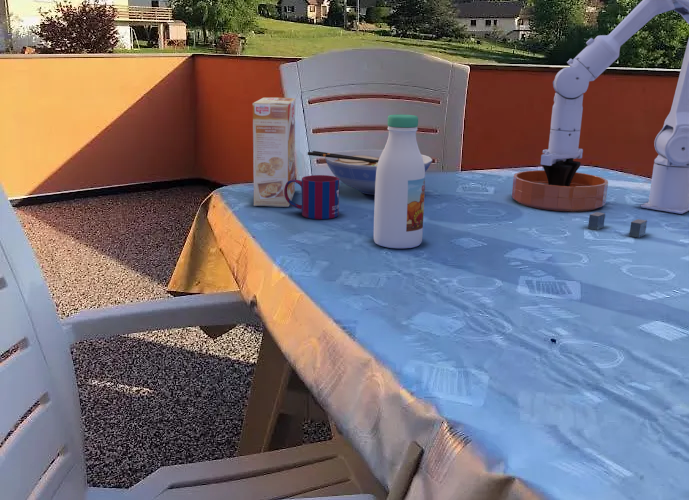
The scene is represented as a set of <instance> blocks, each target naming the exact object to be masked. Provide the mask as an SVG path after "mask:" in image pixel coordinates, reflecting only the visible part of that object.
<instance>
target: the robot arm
mask: <svg viewBox="0 0 689 500" xmlns="http://www.w3.org/2000/svg"><path fill="white" fill-rule="evenodd" d="M669 11H674V12H676V13H677V14H679V15H680V16H681V17H682V18H683V20H684V21H685V22H686V23H687V25H689V0H641V1H640V2H639V3H638V4H637V5H636V6H635V7H634V8H633V9H632V10H631V11H630V13H629V14H627V15H626V16H625V17H624V18H623V19H622V20H621V21H620V23H618V25H616V27H615V28H614V29H612V30H611V32H610V33H608V34H607V35H606V34H602V35H601V34H599V35H597V36H596V37H595V38H592V37H591V38H589V39H588V40H587V41H586V42H585V44H586V46H585V47H584V48H583V49H582V50H581V51H580V52H579V53H577V55H576V56H575V57H574V58H573V59H572V58H569V60H568V61H566V63H567V65H569V66H567V67H563V68H562V69H560V70H559V71H558V72H557V73H556V75H555V76H554V79H553V80H552V87H553V89H554V91H555V93H554V96H553V105H552V109H551V119H550V130H549V139H548V148H547V149H543V150H542V154H541V155H540V166H542V168H543V170H545V173H546V176H547V179H548V185H557V186H570V184H571V181H572V179H573V177H574V175H575V173H576V172H577V171H578V170H579V168H580V167H581V163H582V162H581V161H576V160H575V159H577V160H578V159H580V160H581V159H583V153H584V149H583V148H579V145H580V136H581V128H582V119H583V111H584V110H583V109H584V107H583V102H584V101H583V100H584V94H585V93H586V92H587V90H588V89H589V85H590V82H594V81H595V80H596V79H598V78H599V77H600V75H602V74H603V73H604V72H605V71H606V70H607V69H608V68H610V66H611V65H612V64H613V63H614V62H615V61H616V60H617V59H618V58H620V50H621V47H622V46H623V45H624V44H625V43H626V42H627V41H628V40H630V39H631V38H632V36H634V35H635V34H636V33H637V32H639V30H640V29H642V28H643V27H644V26H645V25H646V24H647V23H648V22H650V21H651V20H652V19H653V18H654V17H655V16H658V15H660V14H663V13H667V12H669ZM670 107H671V108H670V111H669V113H668V114H667V116H666V117H665V119H664V122H663V126H662V128H661V129H660V131H659V132H658V133H657V134H656V136H655V139H654V141H653V143H654V146H653V147H654V149H655V152H656V153H657V154H658V155H657V156H656V157H655V158H654V160H653V167H652V175H651V182H650V188H649V195H648V202H647V201H646V202H645V203H643V204H640V208H643V209H648V210H656V211H661V212H667V213H674V214H680V215H681V214H682V215H683V214H685V213H687V212H689V38H688V39H687V43H686V47H685V51H684V55H683V60H682V62H681V68H680V71H679V76H678V79H677V84H676V88H675V92H674V95H673V100H672V104H671V106H670Z"/></svg>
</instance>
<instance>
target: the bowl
mask: <svg viewBox="0 0 689 500" xmlns="http://www.w3.org/2000/svg"><path fill="white" fill-rule="evenodd" d="M538 182H541V183H548V179H547V176H546V173H545V170H544V169H539V170H537V169H536V170H525V171H523V170H522V171H518V172H515V173H514V174H513V178H512V190H511V198H512V199H513V200H514V201H516V202H517V203H519V204H521V205H524V206H526V207H531V208H535V209H541V210H545V211H547V210H548V211H555V212H588V211H594V210H597V209H599V208H602V207H604V206H605V205H606V203H607V194H608V186H609V181H608V179H606V178H604V177H601V176H598V175H594V174H591V173H590V174H589V173H584V172H577V171H576V173H575V175H574V177H573V179H572V181H571V184H570V186H557V185H547V184H540V183H538Z"/></svg>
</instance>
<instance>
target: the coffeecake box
mask: <svg viewBox="0 0 689 500" xmlns="http://www.w3.org/2000/svg"><path fill="white" fill-rule="evenodd" d="M252 143H253V144H252V147H253V148H252V149H253V157H252V159H253V160H252V161H253V162H252V163H253V167H252V168H253V170H252V171H253V206H254V207H274V208H275V207H278V208H283V207H284V208H289V207H290V206H291V205H290V204H289V203H288V202H287V200H286V198H285V195H284V188H285V185H286V183H287V182H288V181H289V180H296V172H295V171H296V98H294V97H262V98H260V99H258V100H256V101H254V102H252ZM295 192H296V183H295V182H291V183H290V184H289V185H288V188H287V194H288V197H289V199H290V200H291V201H292V200H293V198H294V195H295Z"/></svg>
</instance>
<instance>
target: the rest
mask: <svg viewBox="0 0 689 500" xmlns="http://www.w3.org/2000/svg"><path fill="white" fill-rule="evenodd" d="M605 220H606V213H605V212H599V211H595V212H593V213H590V214H589V217H588V226H587V229H589V230H595V231H598V230H600V229H603V228H604V227H605ZM647 224H648V220H645V219H641V218H636V219H634V220H633V221H631V222H630V227H629V235H628V236H629V237H631V238H636V239H639V238H642V237H643V236H645V235H646V230H647Z"/></svg>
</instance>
